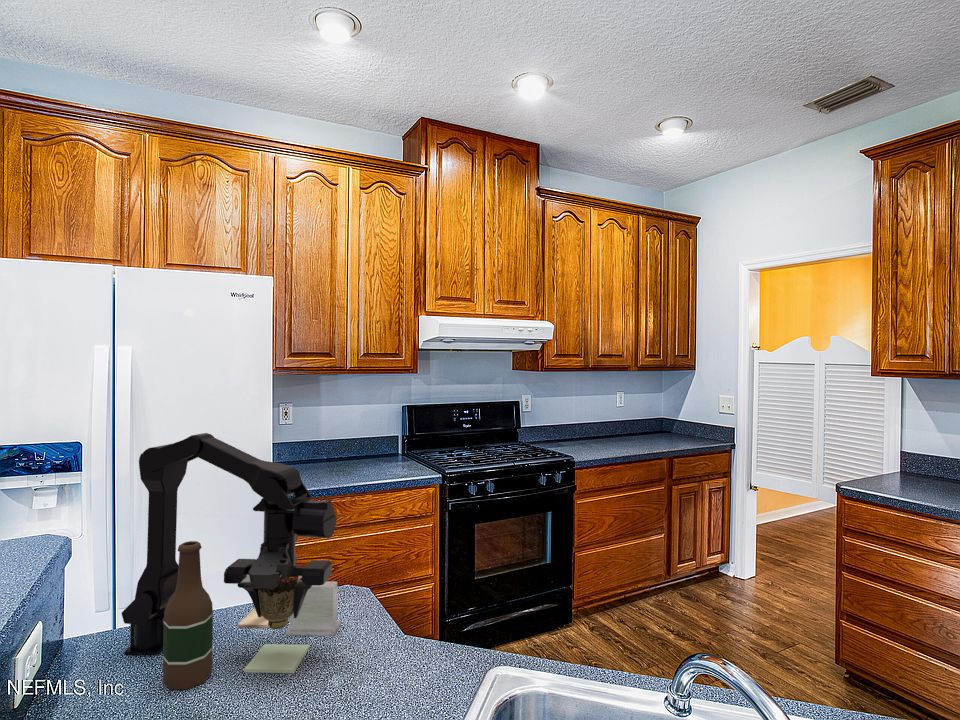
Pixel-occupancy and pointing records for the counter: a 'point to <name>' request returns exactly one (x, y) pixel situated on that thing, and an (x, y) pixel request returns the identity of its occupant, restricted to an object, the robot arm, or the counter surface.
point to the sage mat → (277, 658)
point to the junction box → (317, 612)
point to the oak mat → (254, 620)
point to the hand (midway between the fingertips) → (278, 616)
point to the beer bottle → (188, 625)
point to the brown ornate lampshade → (278, 603)
